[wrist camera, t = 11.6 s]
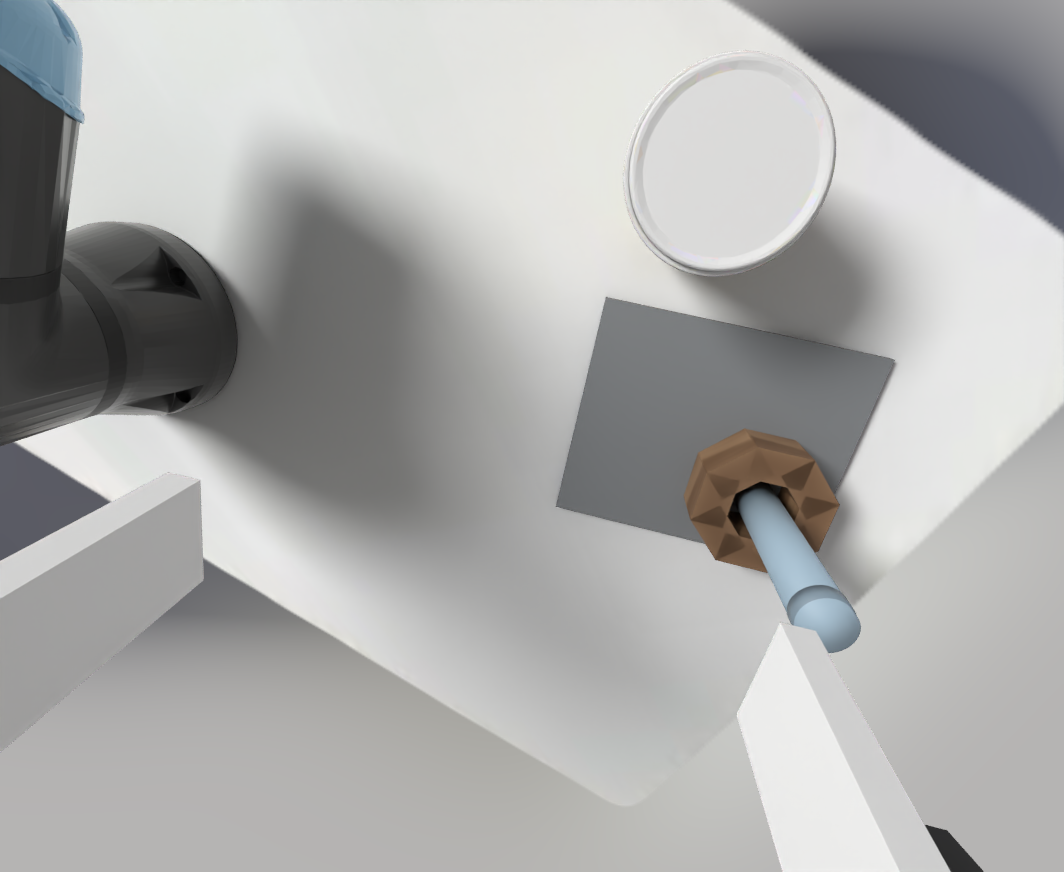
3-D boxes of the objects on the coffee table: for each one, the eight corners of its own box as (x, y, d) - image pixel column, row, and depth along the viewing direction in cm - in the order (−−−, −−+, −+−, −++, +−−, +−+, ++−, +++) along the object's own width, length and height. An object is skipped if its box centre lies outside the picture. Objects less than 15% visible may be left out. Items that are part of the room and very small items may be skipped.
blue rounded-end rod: (724, 500, 41) (787, 644, 26) (736, 467, 40) (809, 597, 25) (761, 509, 40) (847, 660, 25) (774, 476, 39) (871, 613, 24)
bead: (673, 524, 42) (679, 551, 38) (708, 419, 39) (718, 437, 35) (787, 552, 41) (804, 582, 38) (832, 448, 38) (856, 469, 34)
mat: (556, 503, 44) (555, 506, 43) (606, 297, 38) (605, 297, 37) (799, 563, 42) (801, 567, 41) (890, 358, 36) (894, 360, 36)
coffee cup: (765, 261, 35) (834, 265, 24) (624, 276, 37) (628, 286, 26) (770, 103, 32) (852, 24, 21) (617, 126, 34) (618, 65, 23)
